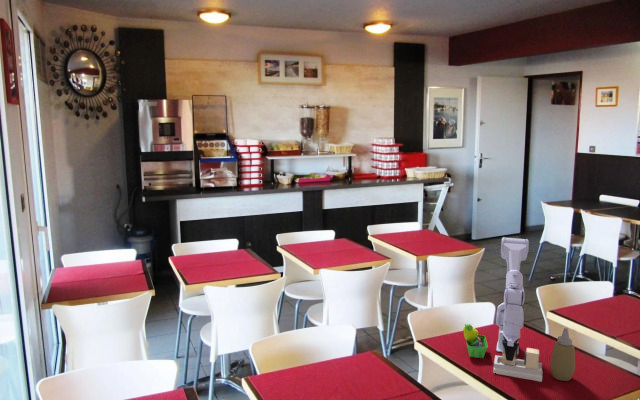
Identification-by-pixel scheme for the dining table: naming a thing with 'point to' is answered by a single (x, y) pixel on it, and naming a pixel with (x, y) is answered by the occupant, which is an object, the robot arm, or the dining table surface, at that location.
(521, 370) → the rail
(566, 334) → the squeeze bottle
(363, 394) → the dining table surface
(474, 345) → the fruit basket
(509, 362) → the maple finger
